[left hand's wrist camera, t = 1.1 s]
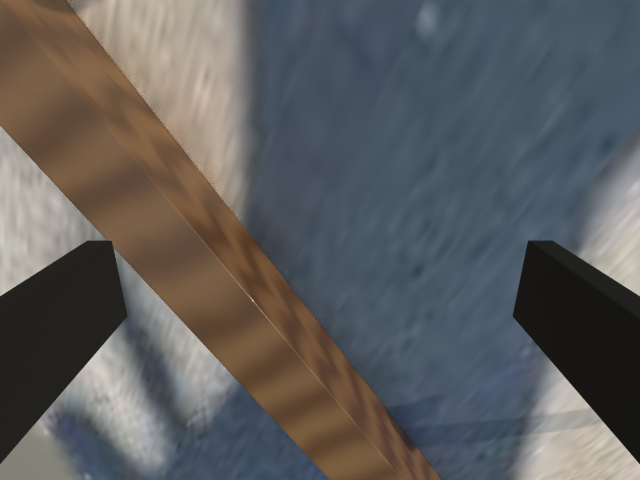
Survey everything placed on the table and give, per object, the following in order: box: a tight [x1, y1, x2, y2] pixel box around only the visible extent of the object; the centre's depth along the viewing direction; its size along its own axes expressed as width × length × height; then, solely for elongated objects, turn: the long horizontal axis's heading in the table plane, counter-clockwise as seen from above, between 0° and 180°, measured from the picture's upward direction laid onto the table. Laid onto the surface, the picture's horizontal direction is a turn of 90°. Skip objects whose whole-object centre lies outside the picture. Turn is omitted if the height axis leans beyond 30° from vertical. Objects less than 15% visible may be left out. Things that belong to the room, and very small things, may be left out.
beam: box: [0, 0, 441, 480], centre depth 34 cm, size 77×6×8 cm, turn 34°
